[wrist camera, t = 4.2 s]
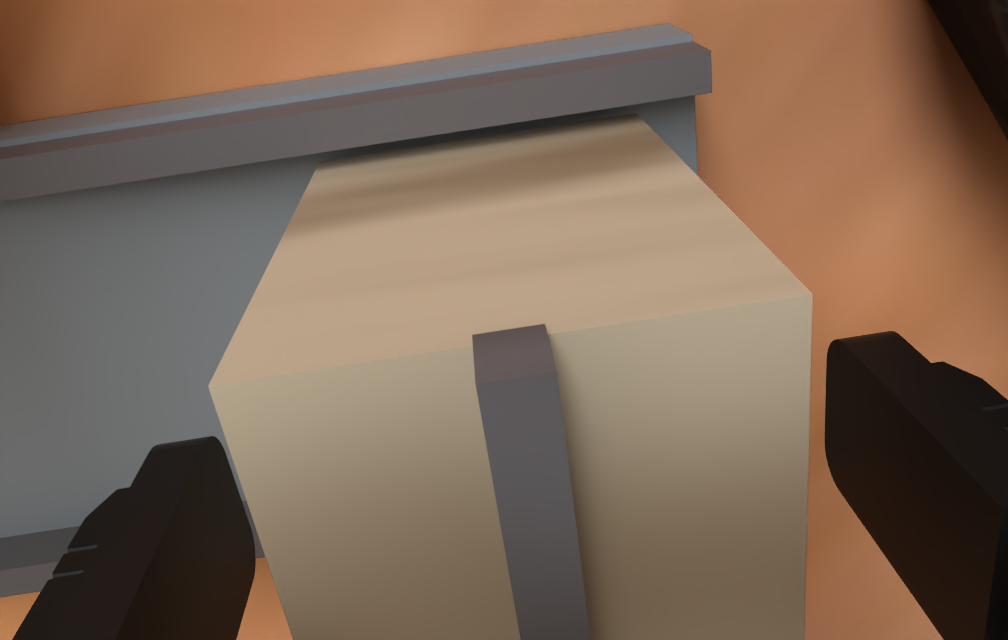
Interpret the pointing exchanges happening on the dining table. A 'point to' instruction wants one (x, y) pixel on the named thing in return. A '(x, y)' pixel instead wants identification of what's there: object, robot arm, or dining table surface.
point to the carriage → (525, 399)
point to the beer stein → (981, 46)
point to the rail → (225, 242)
